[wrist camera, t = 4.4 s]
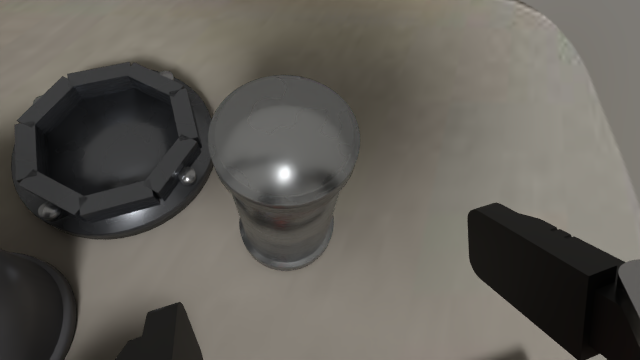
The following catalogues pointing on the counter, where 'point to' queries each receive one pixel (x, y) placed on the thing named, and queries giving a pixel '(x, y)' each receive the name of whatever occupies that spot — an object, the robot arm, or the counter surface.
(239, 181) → the fitting
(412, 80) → the counter surface
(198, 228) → the counter surface
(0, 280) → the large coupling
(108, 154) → the flange
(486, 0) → the counter surface
